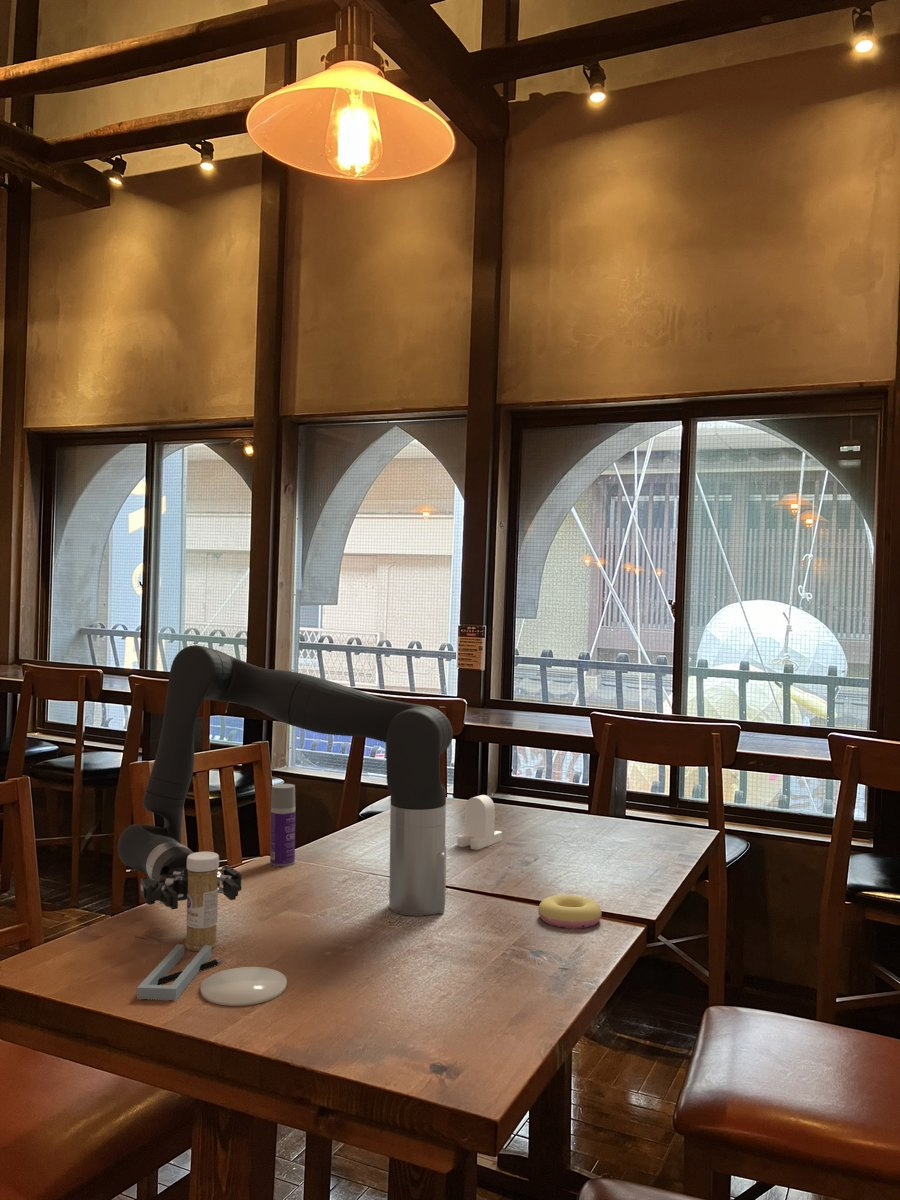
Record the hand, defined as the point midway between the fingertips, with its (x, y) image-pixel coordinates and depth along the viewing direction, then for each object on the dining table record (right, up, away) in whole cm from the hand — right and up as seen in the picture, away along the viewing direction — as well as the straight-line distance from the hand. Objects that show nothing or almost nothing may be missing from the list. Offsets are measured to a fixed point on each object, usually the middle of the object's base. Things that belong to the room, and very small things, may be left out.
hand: (205, 897), depth 135 cm
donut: (+55, -9, +15) cm, 57 cm away
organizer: (+42, -9, +62) cm, 76 cm away
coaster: (+9, -8, -13) cm, 18 cm away
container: (+3, -8, +45) cm, 46 cm away
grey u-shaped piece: (-1, -7, -9) cm, 12 cm away
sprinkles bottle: (-1, -8, +1) cm, 8 cm away
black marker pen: (0, -8, -9) cm, 12 cm away
